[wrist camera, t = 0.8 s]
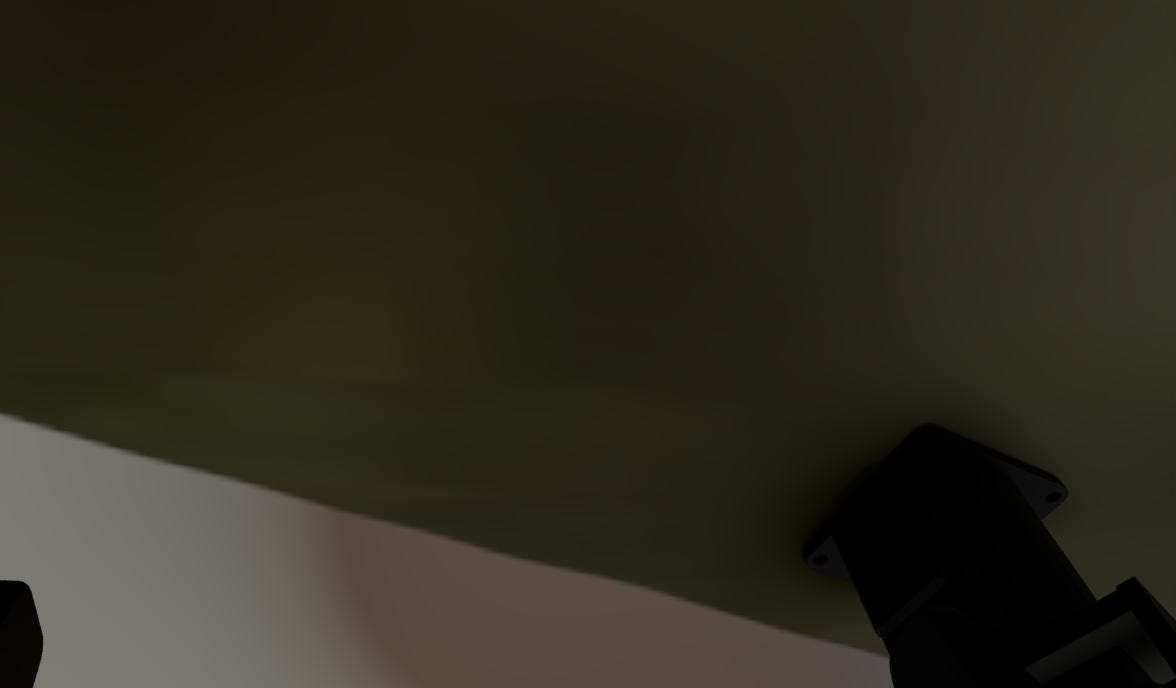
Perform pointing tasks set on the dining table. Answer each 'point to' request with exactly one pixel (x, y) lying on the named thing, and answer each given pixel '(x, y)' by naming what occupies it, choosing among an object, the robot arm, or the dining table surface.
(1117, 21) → the dining table surface
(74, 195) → the dining table surface
